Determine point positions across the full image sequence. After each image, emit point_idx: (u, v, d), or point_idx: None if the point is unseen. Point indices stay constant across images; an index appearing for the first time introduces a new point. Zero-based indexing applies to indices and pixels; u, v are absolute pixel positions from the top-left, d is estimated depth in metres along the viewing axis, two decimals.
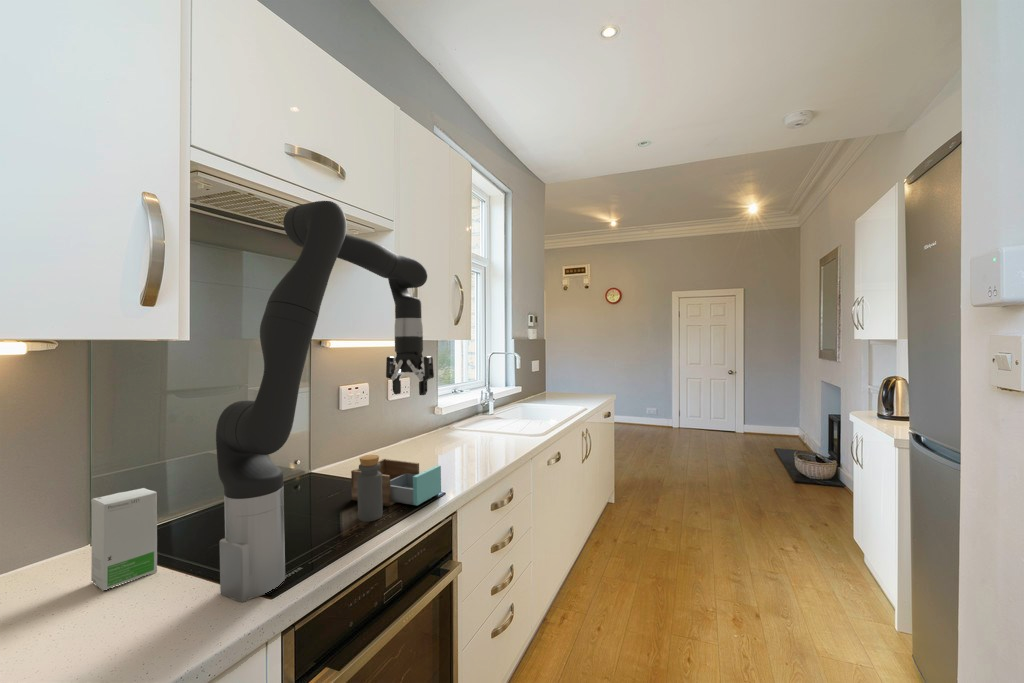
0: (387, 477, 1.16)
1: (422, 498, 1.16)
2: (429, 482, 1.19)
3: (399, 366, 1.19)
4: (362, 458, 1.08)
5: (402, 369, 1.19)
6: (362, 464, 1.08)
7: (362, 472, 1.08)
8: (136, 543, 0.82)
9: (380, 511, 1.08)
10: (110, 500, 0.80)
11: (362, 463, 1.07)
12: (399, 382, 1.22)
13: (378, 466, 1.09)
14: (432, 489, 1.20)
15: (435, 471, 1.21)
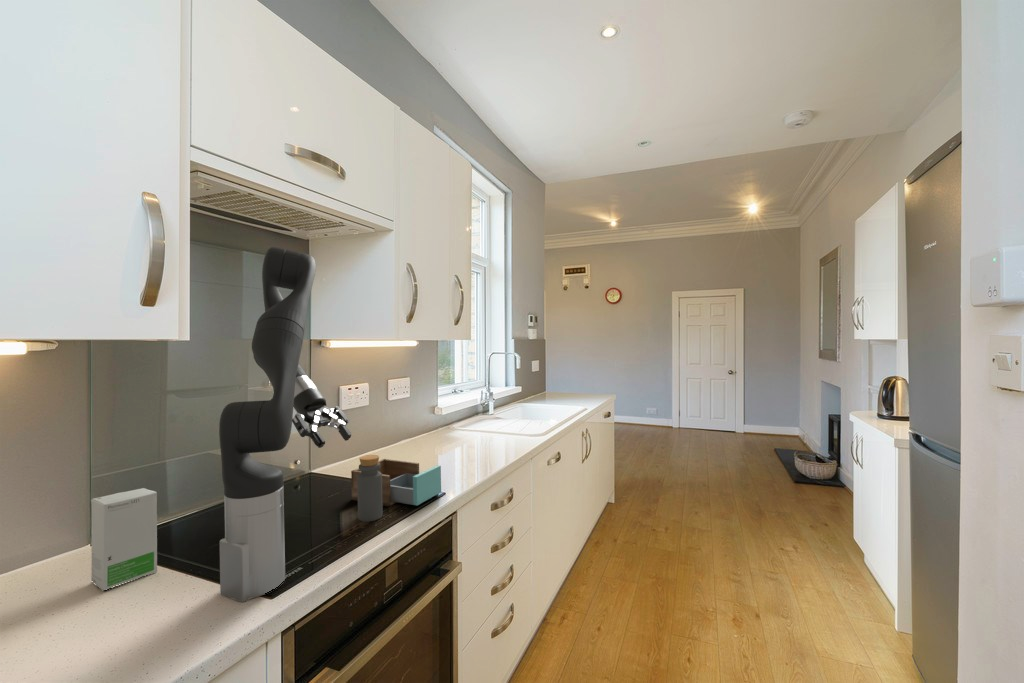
0: (387, 477, 1.16)
1: (422, 498, 1.16)
2: (429, 482, 1.19)
3: (317, 416, 1.14)
4: (362, 458, 1.08)
5: (319, 420, 1.15)
6: (362, 464, 1.08)
7: (362, 472, 1.08)
8: (136, 543, 0.82)
9: (380, 511, 1.08)
10: (110, 500, 0.80)
11: (362, 463, 1.07)
12: None
13: (378, 466, 1.09)
14: (432, 489, 1.20)
15: (435, 471, 1.21)
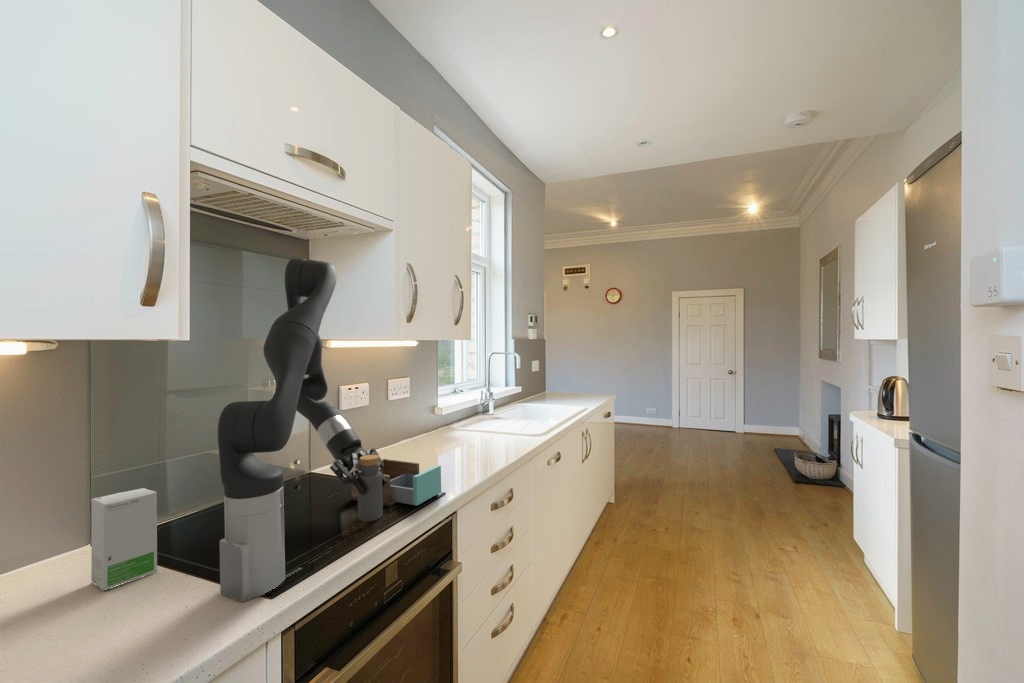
0: (387, 477, 1.16)
1: (422, 498, 1.16)
2: (429, 482, 1.19)
3: (355, 460, 1.09)
4: (362, 458, 1.08)
5: (358, 463, 1.10)
6: (362, 464, 1.08)
7: (362, 472, 1.08)
8: (136, 543, 0.82)
9: (380, 511, 1.08)
10: (110, 500, 0.80)
11: (362, 463, 1.07)
12: None
13: (378, 466, 1.09)
14: (432, 489, 1.20)
15: (435, 471, 1.21)
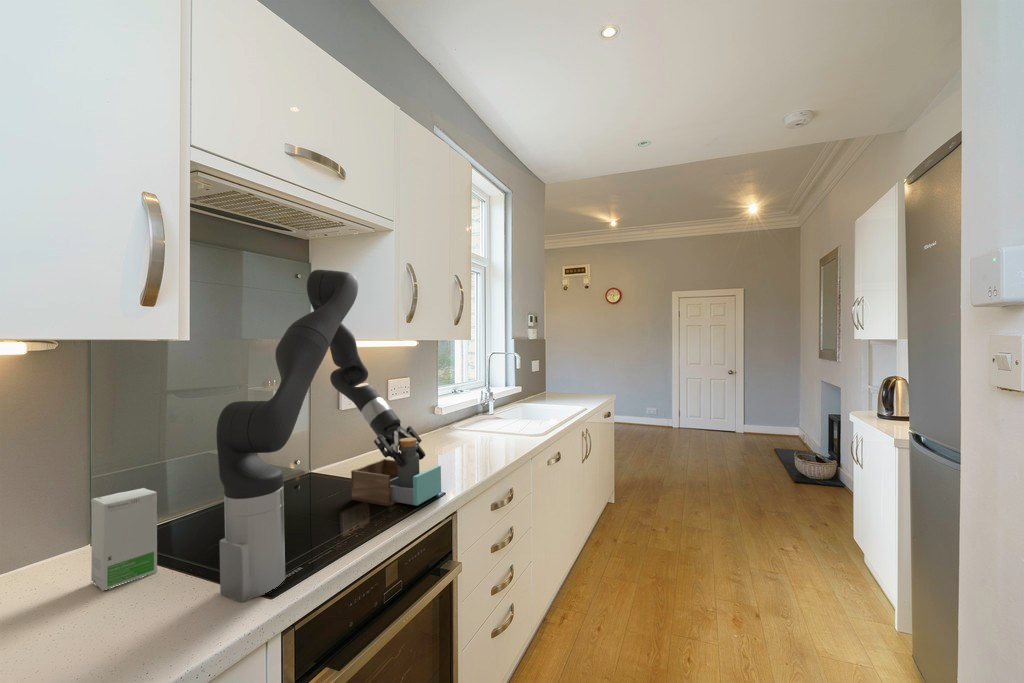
0: (387, 477, 1.16)
1: (422, 498, 1.16)
2: (429, 482, 1.19)
3: (396, 437, 1.21)
4: (402, 440, 1.20)
5: (398, 440, 1.21)
6: (402, 445, 1.19)
7: (402, 453, 1.20)
8: (136, 543, 0.82)
9: None
10: (110, 500, 0.80)
11: (402, 444, 1.19)
12: None
13: (416, 447, 1.20)
14: (432, 489, 1.20)
15: (435, 471, 1.21)
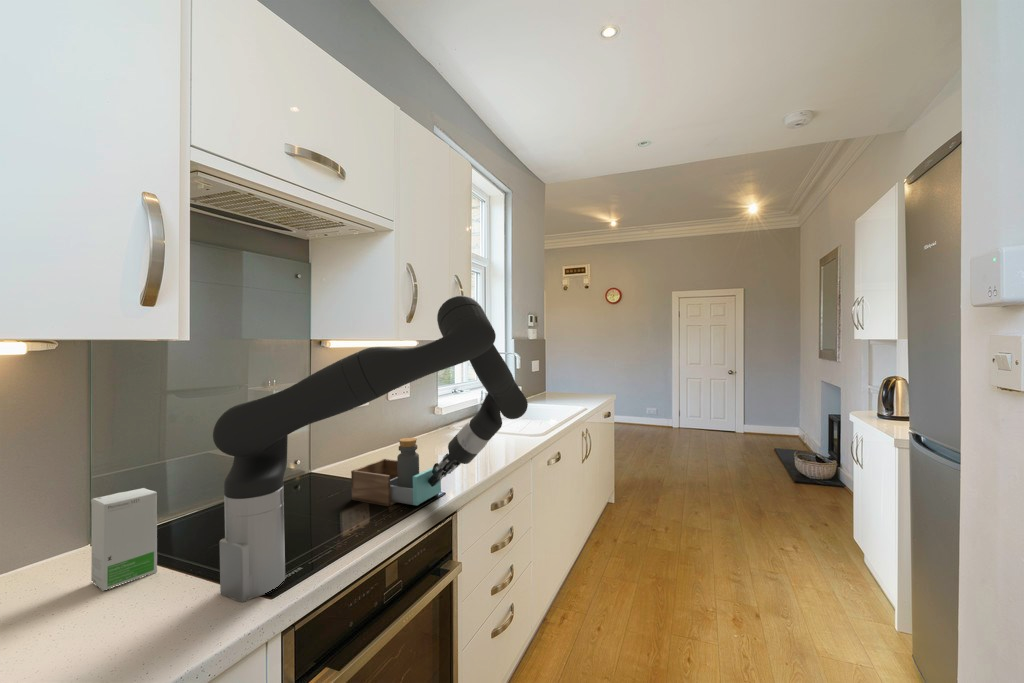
0: (387, 477, 1.16)
1: (422, 498, 1.16)
2: None
3: (452, 468, 1.15)
4: (402, 440, 1.20)
5: None
6: (402, 445, 1.19)
7: (402, 453, 1.20)
8: (136, 543, 0.82)
9: None
10: (110, 500, 0.80)
11: (402, 444, 1.19)
12: None
13: (416, 447, 1.20)
14: (432, 489, 1.20)
15: None
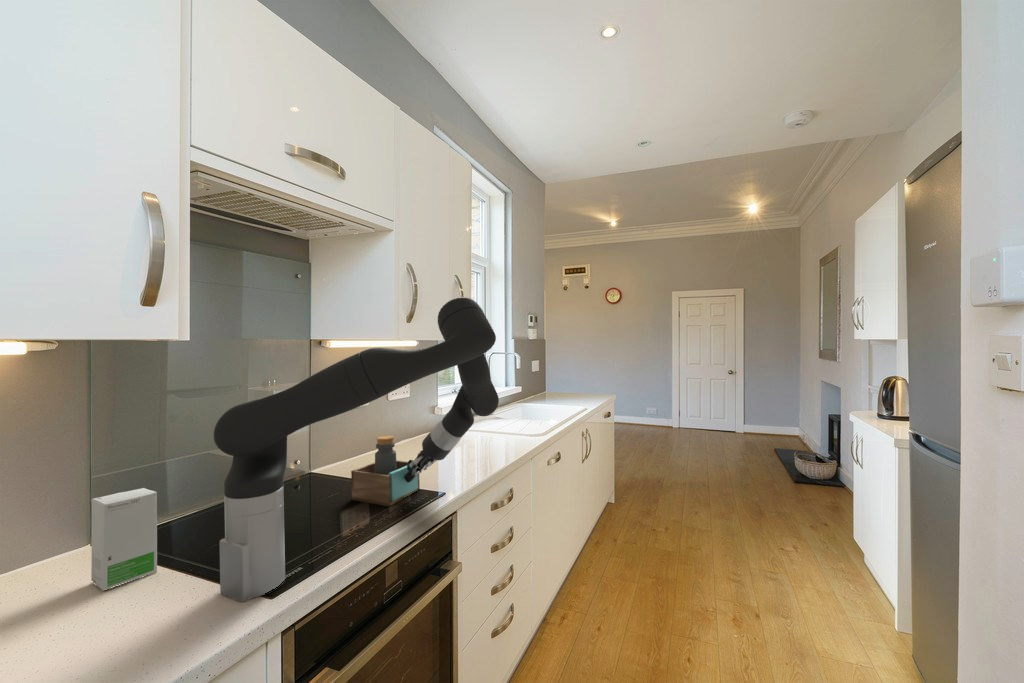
0: (387, 477, 1.16)
1: (398, 494, 1.19)
2: None
3: (426, 465, 1.18)
4: (379, 438, 1.23)
5: None
6: (379, 443, 1.23)
7: (379, 450, 1.23)
8: (136, 543, 0.82)
9: None
10: (110, 500, 0.80)
11: (379, 442, 1.23)
12: None
13: (393, 445, 1.24)
14: (408, 485, 1.23)
15: None
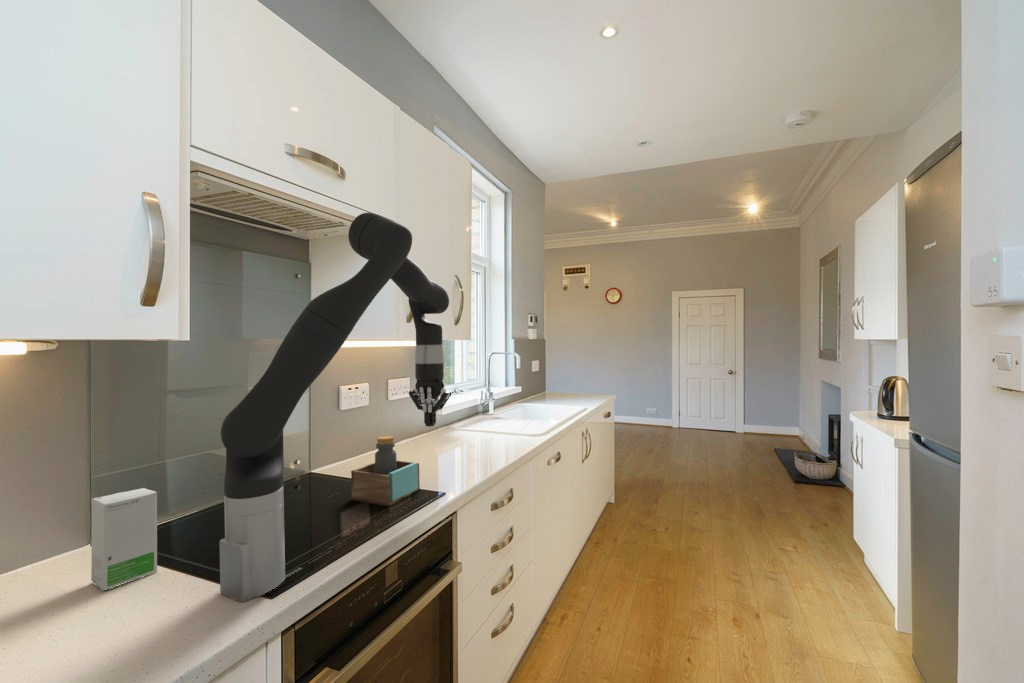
0: (387, 477, 1.16)
1: (398, 494, 1.19)
2: (406, 478, 1.22)
3: None
4: (379, 438, 1.23)
5: None
6: (379, 443, 1.23)
7: (379, 450, 1.23)
8: (136, 543, 0.82)
9: None
10: (110, 500, 0.80)
11: (379, 442, 1.23)
12: None
13: (393, 445, 1.24)
14: (408, 485, 1.23)
15: (412, 468, 1.25)
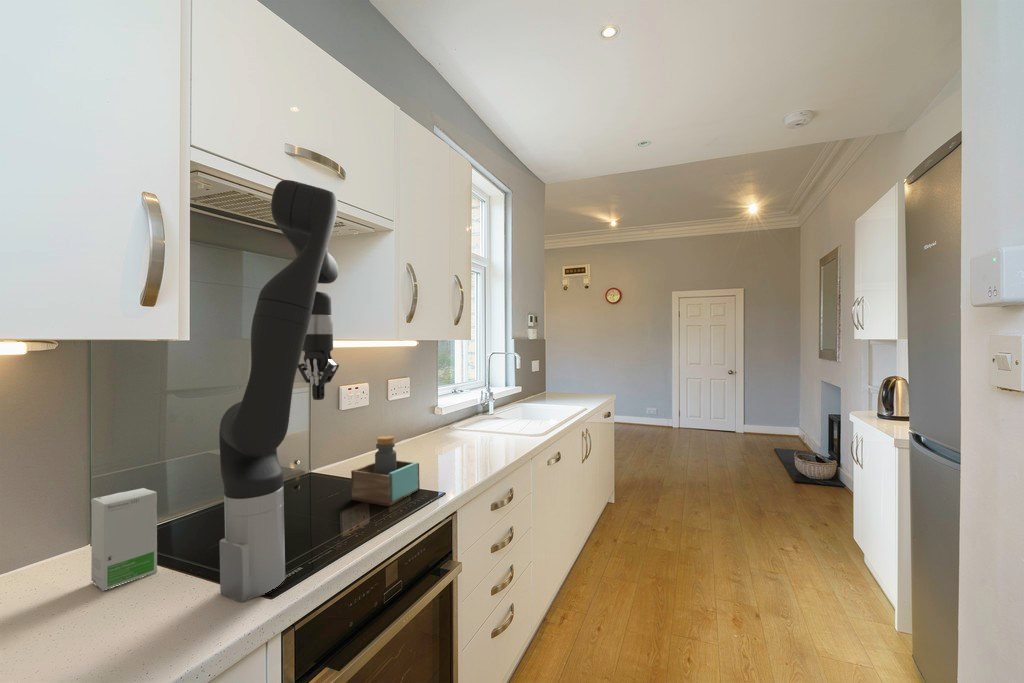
0: (387, 477, 1.16)
1: (398, 494, 1.19)
2: (406, 478, 1.22)
3: None
4: (379, 438, 1.23)
5: None
6: (379, 443, 1.23)
7: (379, 450, 1.23)
8: (136, 543, 0.82)
9: None
10: (110, 500, 0.80)
11: (379, 442, 1.23)
12: None
13: (393, 445, 1.24)
14: (408, 485, 1.23)
15: (412, 468, 1.25)
